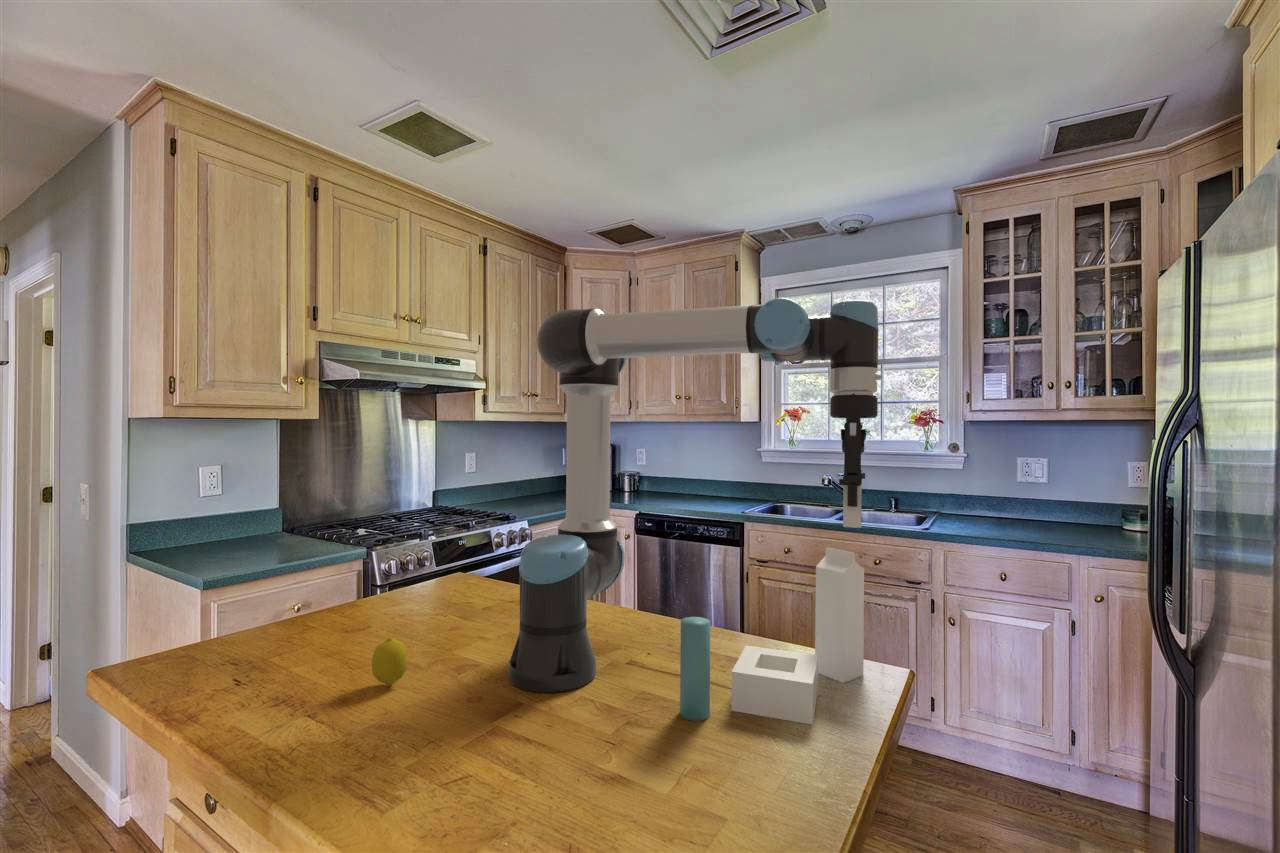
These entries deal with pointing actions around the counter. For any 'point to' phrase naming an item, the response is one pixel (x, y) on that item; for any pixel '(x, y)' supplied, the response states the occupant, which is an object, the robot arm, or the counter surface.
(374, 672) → the lemon
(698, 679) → the peg
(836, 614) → the milk
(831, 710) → the counter surface
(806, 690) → the socket
